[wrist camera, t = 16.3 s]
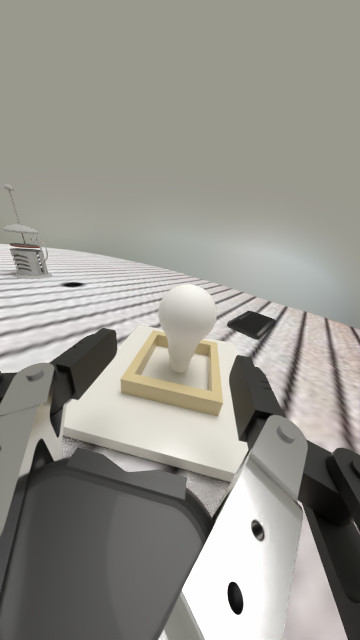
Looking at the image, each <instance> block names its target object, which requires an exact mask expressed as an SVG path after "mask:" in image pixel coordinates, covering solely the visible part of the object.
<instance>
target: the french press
mask: <svg viewBox="0 0 360 640" xmlns="http://www.w3.org/2000/svg"><path fill="white" fill-rule="evenodd" d="M4 188H5V189H8V190H9V193H10V196H11V192H10V190H14V189H13V187H12V186H11V185H8V184H5V185H4ZM11 199H12V196H11ZM12 203H13V199H12ZM13 206H14V203H13ZM14 210H15V206H14ZM15 213H16V210H15ZM16 216H17V213H16ZM17 220H18V216H17ZM18 223H19V220H18ZM2 229H3V230H4V231H11V232H19V233H22V237H23V233H29V234H38V232H37V231H35V230H34V229H32V228H29V227H26V226H23V225H21V224H20V223H19V224H17V225H8V226H5V227H4V228H2ZM33 239H34V238H33ZM37 239H39V238H36V240H35V239H34V240H35V241H36V242H37ZM23 240H24V237H23ZM31 241H32V237H31ZM40 241H41V240H40ZM32 242H33V241H32ZM41 242H42V241H41ZM37 243H38V242H37ZM10 245H11V246H15V247H23V248H40V249H41V247H40V245H39V244H38V245H29V244H26V243H25V240H24V244H19V243H18V244H17V243H10ZM43 245H44V243H43ZM44 246H45V245H44ZM45 248H46V246H45ZM10 251H11V254H12V257H13V256H14V258H13V260H14V261H16V262H15V265H16V264H17V266H16V269H18V271H17V272H18V273H16V274H15V277H18V278H25V279H39V278H47V277H51V276H52V275H51V274H50V273H48V271H47V267H46V263H45V261H46V260H47V258H48V253H47V258H46V260H45V259H44V255H43V251H42V249H41V250H35V249H19V248H15V249H10ZM46 252H47V249H46ZM38 254H39V256H38V257H37V255H38ZM39 258H40V260H39V261H38V259H39ZM39 262H41V264H39ZM40 266H42V268H40Z"/></svg>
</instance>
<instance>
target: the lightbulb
mask: <svg viewBox="0 0 360 640" xmlns="http://www.w3.org/2000/svg"><path fill="white" fill-rule="evenodd" d="M158 316H159V321H160V324H161V326H162V329H163V331H164V333H165V335H166V337H167V340H168V353H169V355H170V356H169V366H170V368H171V369H172V370H173V371H175V372H180V373H181V372H184V371H186V370H187V369H188V367H189V363H190V360H191V358H192V357H193V355H194V352H195V349H196V347H197V345H198V344H199V343H200V342H201V341H202V340H203V339H204V338H205V337H206V336H207V335H208V334H209V333H210V331H211V330H212V329H213V327H214V325H215V322H216V318H217V310H216V305H215V303H214V300H213V298H212V297H211V295H210V294H209V293H208V292H207V291H205V290H204V289H202V288H201V287H198V286H195V285H190V284H188V285H180V286H177V287H175V288H173V289H171V290H170V291H169V292H168V293H167V294H166V295H165V296H164V297H163V299H162V301H161V303H160V306H159V313H158Z"/></svg>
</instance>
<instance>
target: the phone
mask: <svg viewBox="0 0 360 640" xmlns="http://www.w3.org/2000/svg"><path fill="white" fill-rule="evenodd" d="M275 322H276V320H275V319H272V318H269V317H267V316H264V315H261V314H258V313H255V312H252V311H247V312H246V313H244V314H242V315H240V316H238V317H236V318H234V319H233V320H231V321H229V322H228V324H227V326H228V327H229V328H231V329H234V330H236V331H238V330H240V331H242V332H240V331H238V332H240V333H242V334H245V335H247V336H249V337H251V338H253V339H260V338H261V337H262V336H263V335H264V334H265V333H266V332H267V331H268V330H269V329H270V328H271V327H272V326H273V325H274V324H275Z"/></svg>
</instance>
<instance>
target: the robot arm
mask: <svg viewBox="0 0 360 640" xmlns="http://www.w3.org/2000/svg"><path fill="white" fill-rule="evenodd" d="M116 353H117V339H116V331H115V330H111V329H106V328H102V329H101V330H99V331H98V332H97V333H95V334H92V335H89V336H87V337H85V338H83V339H82V340H80V341H79V342H78V343H76V344H75V345H74V346H73V347H71V348H69V349H68V350H67V351H65V352H64V353H63V354H61V355H60V356H58V357H57V358H56V359H54V360H53V361H52V362H50V363H39V364H34V365H31V366H29V367H27V368H25V369H23V370H21V371H20V372H18V373H1V371H0V640H282V639H283V633H284V627H285V621H286V615H287V610H288V604H289V598H290V592H291V586H292V580H293V574H294V568H295V562H296V556H297V550H298V544H299V538H300V532H301V526H302V520H303V512H302V508H301V506H300V505H299V504H298V502H297V500H298V501H300V502H301V503H302V505H303V507H304V510H305V513H306V516H307V519H308V522H309V525H310V528H311V531H312V534H313V537H314V540H315V543H316V546H317V549H318V552H319V555H320V558H321V561H322V564H323V567H324V570H325V573H326V576H327V579H328V582H329V585H330V588H331V591H332V594H333V597H334V600H335V602H336V605H337V608H338V611H339V614H340V617H341V620H342V623H343V626H344V629H345V632H346V635H347V638H348V640H360V535H359V533H358V531H357V529H356V527H355V525H354V523H353V522H355V523H356V525H357V527H358V529H359V531H360V455H358V454H357V453H355V452H353V451H351V450H348V449H345V448H337V449H336V450H335V451H334V452H333V453H331V452H329V451H327V450H325V449H323V448H321V447H319V446H317V445H316V444H314V443H312V442H310V441H308V440H306V438H305V436H304V435H303V433H302V432H301V431H300V429H299V428H298V427H297V426H296V425H295V424H294V423H292V422H291V421H290V420H288V419H286V418H285V416H284V414H283V412H282V410H281V408H280V406H279V403H278V401H277V399H276V397H275V395H274V393H273V391H272V388H271V386H270V384H269V382H268V380H267V378H266V375H265V374H264V373H263V372H262V371H261V370H260V369H259V368H258V367H254V364H253V362H252V359H251V358H250V357H245V356H240V355H237V356H236V358H235V361H234V363H233V366H232V369H231V372H230V375H229V386H230V391H231V397H232V403H233V409H234V415H235V421H236V427H237V433H238V439H239V441H243V442H247V446H248V451H247V453H246V455H245V456H244V458H243V460H242V462H241V464H240V466H239V468H238V470H237V471H236V473H235V475H234V477H233V479H232V481H231V483H230V485H229V486H228V488H227V490H226V492H225V494H224V495H223V497H222V499H221V500H220V502H219V504H218V506H217V508H216V510H215V511H214V513H213V515H212V517H211V515H210V514H209V512H208V511H207V509H206V508H205V506H204V505H203V503H202V502H201V501H200V500H199V499H198V497H197V496H196V495H195V494H193V493H192V492H191V491H190V490H189V489H187V488H186V481H187V478H186V477H182V476H179V475H175V474H171V473H168V472H164V471H161V470H152V471H139V472H126V471H124V470H123V469H121V468H120V467H119V466H117V465H116V464H115V463H113V462H112V461H111V460H109V459H108V458H107V457H105V456H104V455H102V454H99V453H95V452H92V451H88V450H84V449H81V448H77V449H76V451H75V452H74V454H73V455H72V457H68V458H63V450H62V438H63V429H64V421H65V413H66V402H67V401H68V400H69V399H70V398H71V399H75V400H79V399H80V398H81V397H82V396H83V394H84V393H85V392H86V391H87V390H88V388H89V387H90V386H91V385H92V384H93V383H94V381H95V380H96V379H97V378H98V377H99V375H100V374H101V373H102V372H103V371H104V370H105V368H106V367H107V366H108V365H109V364H110V362H111V361H112V360H113V359H114V358H115V356H116Z"/></svg>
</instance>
